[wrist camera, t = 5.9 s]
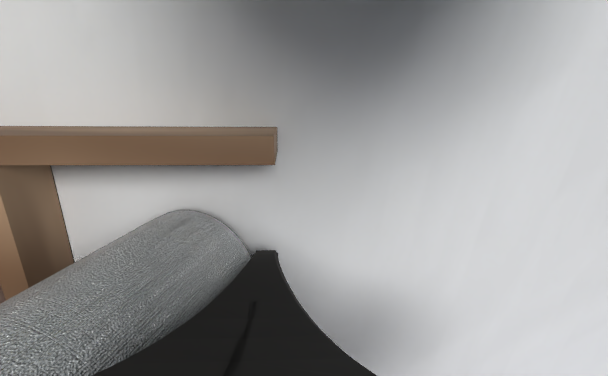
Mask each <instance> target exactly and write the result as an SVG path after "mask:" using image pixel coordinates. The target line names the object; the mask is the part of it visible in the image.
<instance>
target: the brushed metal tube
mask: <svg viewBox="0 0 608 376" xmlns="http://www.w3.org/2000/svg"><path fill="white" fill-rule="evenodd" d="M250 259H251V257H250V255H249V253H248V251H247V249H246V248H245V246H244V244H243V243H242V242H241V240H240V239H239V238H238V237H237V235H236V234H235V233H234V232H233V231H232V230H231V229H229V228H228V227H227V226H226V225H224V224H223V223H222V222H220V221H219V220H217V219H215V218H213V217H211V216H209V215H206V214H204V213H201V212H197V211H190V210H178V211H173V212H169V213H166V214H164V215H162V216H160V217H158V218H155V219H153V220H151V221H149V222H148V223H146V224H144V225H142V226H140V227H139V228H137V229H135V230H133V231H131V232H129V233H128V234H126V235H124V236H122V237H120V238H119V239H117V240H115V241H113V242H111V243H109V244H108V245H106V246H104V247H102V248H100V249H99V250H97V251H95V252H93V253H91V254H90V255H88V256H86V257H84V258H82V259H80V260H79V261H77V262H75V263H73V264H71V265H70V266H68V267H66V268H64V269H62V270H61V271H59V272H57V273H55V274H53V275H51V276H50V277H48V278H46V279H44V280H42V281H41V282H39V283H37V284H35V285H33V286H32V287H30V288H28V289H26V290H24V291H22V292H21V293H19V294H17V295H15V296H13V297H12V298H10V299H8V300H6V301H4V302H2V303H1V304H0V376H91V375H94V374H96V373H98V372H100V371H102V370H104V369H106V368H108V367H111V366H113V365H115V364H117V363H119V362H121V361H123V360H124V359H126V358H128V357H130V356H132V355H134V354H136V353H137V352H139V351H141V350H143V349H145V348H146V347H148V346H150V345H151V344H153V343H155V342H156V341H158V340H160V339H161V338H163V337H165V336H166V335H168V334H169V333H170V332H172V331H173V330H175V329H176V328H178V327H179V326H181V325H182V324H184V323H185V322H187V321H188V320H190V319H191V318H192V317H194V316H195V315H196V314H197V313H199V312H200V311H201V310H202V309H204V308H205V307H206V306H207V305H208V304H209V303H211V302H212V301H213V300H214V299H215V298H216V297H217V296H218V295H219V294H220V293H221V292H222V291H223V290H224V289H225V288H226V287H227V286H228V285H229V284H230V283H231V282H232V281H233V280H234V278H235V277H236V276H237V275H238V274H239V273H240V272H241V270H242V269H243V268H244V267H245V266H246V264H247V263H248V262H249V261H250Z"/></svg>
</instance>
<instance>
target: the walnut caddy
mask: <svg viewBox="0 0 608 376" xmlns="http://www.w3.org/2000/svg"><path fill="white" fill-rule="evenodd" d="M276 156H277V127H90V126H0V285H1V287H2V290H3V293H4V296H5V299H6V300H8V299H10V298H12V297H13V296H15V295H17V294H19V293H21V292H22V291H24V290H26V289H28V288H30V287H32V286H33V285H35V284H37V283H39V282H41V281H42V280H44V279H46V278H48V277H50V276H51V275H53V274H55V273H57V272H59V271H61V270H62V269H64V268H66V267H68V266H70V265H71V264H73V263H74V261H73V257H72V253H71V249H70V245H69V240H68V236H67V232H66V228H65V224H64V220H63V216H62V212H61V208H60V204H59V200H58V196H57V192H56V188H55V183H54V179H53V175H52V171H51V167H50V165H275V161H276Z"/></svg>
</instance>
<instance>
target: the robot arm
mask: <svg viewBox="0 0 608 376" xmlns="http://www.w3.org/2000/svg"><path fill="white" fill-rule="evenodd" d="M91 376H376V375H375V374H374V373H372V372H371V371H369V370H368V369H366V368H365V367H364V366H362V365H361V364H359V363H358V362H356V361H355V360H354V359H352V358H351V357H350V356H348V355H347V354H346V353H345V352H343V351H342V350H341V349H340V348H339V347H338V346H337V345H336V344H335V343H334V342H333V341H332V340H331V339H330V338H329V337H328V336H327V335H325V334H324V333H323V332H322V331H321V330H320V328H319V327H318V326H317V325H316V324H315V323H314V322H313V320H312V319H311V318H310V317H309V315H308V314H307V313H306V312H305V310H304V309H303V308H302V306H301V305H300V303H299V302H298V300H297V299H296V297H295V295H294V294H293V292H292V290H291V288H290V287H289V285H288V283H287V281H286V279H285V277H284V274H283V272H282V270H281V267H280V264H279V260H278V253H277V252H276V250H269V251H256V253H255V254H254V255H253V257H252V258H251V259H250V261H249V262H248V263H247V264H246V266H245V267H244V268H243V269H242V270H241V272H240V273H239V274H238V275H237V276H236V277H235V278H234V280H233V281H232V282H231V283H230V284H229V285H228V286H227V287H226V288H225V289H224V290H223V291H222V292H221V293H220V294H219V295H218V296H217V297H216V298H215V299H214V300H213V301H212V302H211V303H209V304H208V305H207V306H206V307H205V308H204V309H202V310H201V311H200V312H199V313H197V314H196V315H195V316H194V317H192V318H191V319H190V320H188V321H187V322H185V323H184V324H182V325H181V326H179V327H178V328H176V329H175V330H173V331H172V332H170V333H169V334H168V335H166V336H165V337H163V338H161V339H160V340H158V341H156V342H155V343H153V344H151V345H150V346H148V347H146V348H145V349H143V350H141V351H139V352H137V353H136V354H134V355H132V356H130V357H128V358H126V359H124V360H123V361H121V362H119V363H117V364H115V365H113V366H111V367H108V368H106V369H104V370H102V371H100V372H98V373H96V374H94V375H91Z"/></svg>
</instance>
